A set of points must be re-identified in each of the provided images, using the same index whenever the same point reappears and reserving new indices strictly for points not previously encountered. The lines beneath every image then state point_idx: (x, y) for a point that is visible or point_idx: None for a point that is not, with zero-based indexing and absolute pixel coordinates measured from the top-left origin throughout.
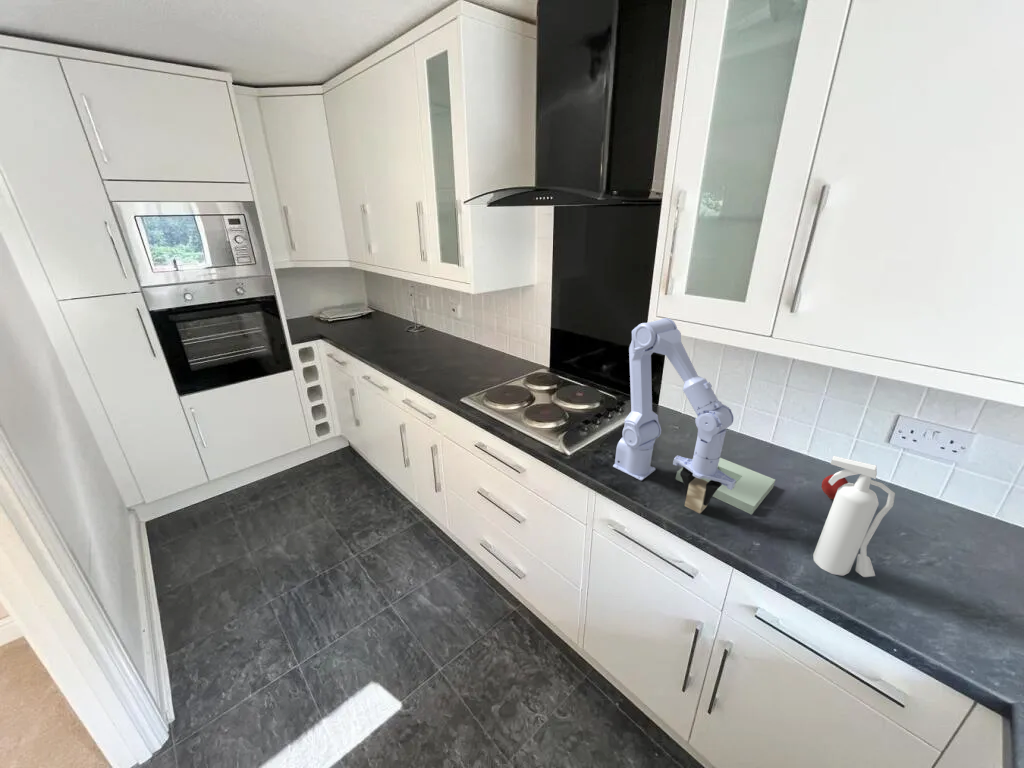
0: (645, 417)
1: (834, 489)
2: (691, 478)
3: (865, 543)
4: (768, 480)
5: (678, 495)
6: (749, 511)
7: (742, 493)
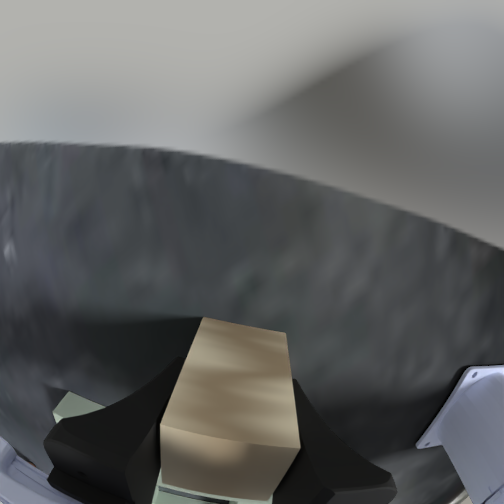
0: None
1: None
2: (293, 487)
3: None
4: None
5: (325, 384)
6: (71, 399)
7: None
